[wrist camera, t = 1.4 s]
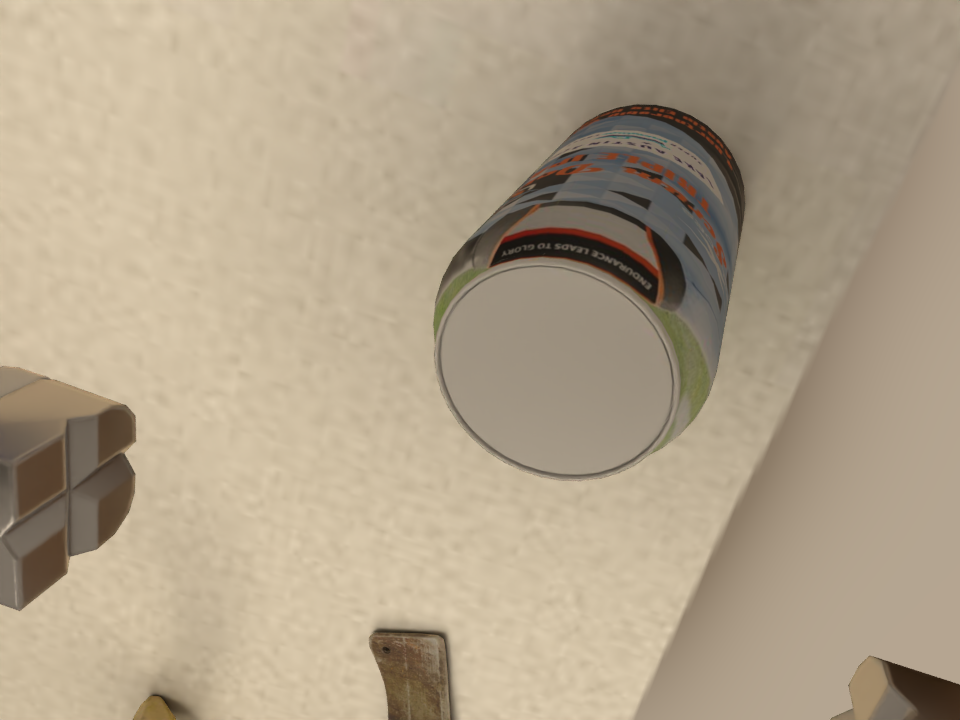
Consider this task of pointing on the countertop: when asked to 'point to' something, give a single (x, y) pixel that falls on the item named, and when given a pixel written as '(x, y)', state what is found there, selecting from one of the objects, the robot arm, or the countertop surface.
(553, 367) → the beverage can
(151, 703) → the fruit
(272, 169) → the countertop surface
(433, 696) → the meat cleaver
